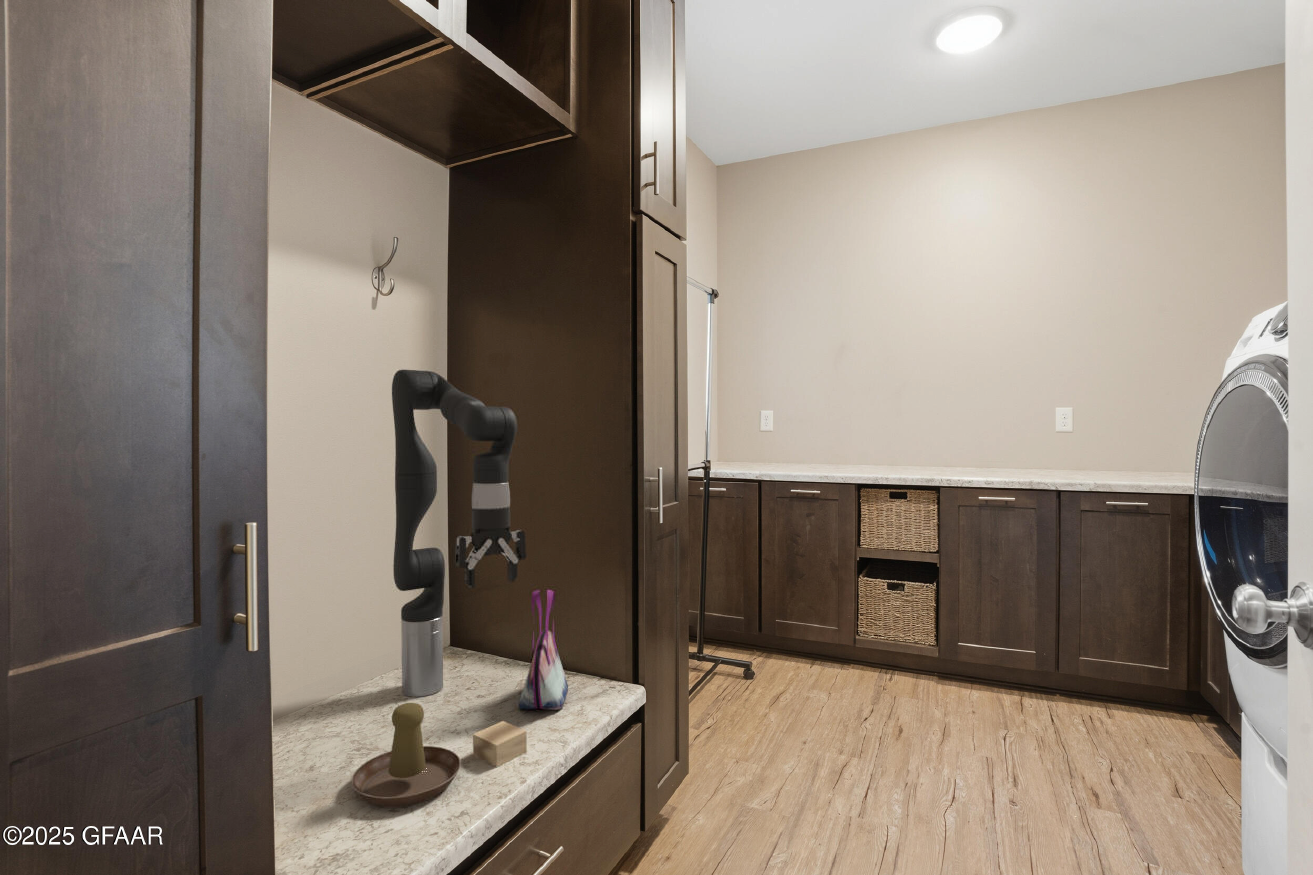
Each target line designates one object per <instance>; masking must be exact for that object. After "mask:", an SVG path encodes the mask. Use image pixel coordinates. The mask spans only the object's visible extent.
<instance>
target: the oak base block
mask: <svg viewBox="0 0 1313 875" xmlns="http://www.w3.org/2000/svg"><path fill="white" fill-rule="evenodd" d="M527 743H528V742H527V730H525V729H522V728H520V727H518V726H515V725H513V724H511V723H508V722H506V721H504V720H502V721H500V722H497V723H495V724H493V725H491V726H489V727H486V728H484V729H482V730H479V731H477V732H475V733H472V753H473V756H474V757H476V758H478V759H480V760H482V761H484V762H485V763H488V764H490V765H492V766H493V767H496V768H497V767H500V766H502V765H503V764H505V763H508V762H510V761H512V760H514V759H515V758H517V757H519V756H522V755H523V754H526V753H527V751H528V750H527V747H528V746H527Z"/></svg>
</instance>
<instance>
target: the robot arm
mask: <svg viewBox="0 0 1313 875" xmlns="http://www.w3.org/2000/svg"><path fill="white" fill-rule="evenodd" d="M391 402H392V412H393V423H394V425H393V426H394V437H395V439H394V440H395V456H394V457H395V461H394V463H395V464H394V465H395V466H394V473H395V474H394V482H395V483H394V489H395V490H394V491H395V492H394V493H395V535H394V536H395V538H394V548H393V549H394V550H393V564H392V566H393V567H392V568H393V580H394V583H395V586H396V588H397V589H398V590H399V591H402V592H407V591H415V590H420V589H421V590H422V589H423V590H422V592H421V593H419V595H418V596H416V597H415V598H414V599H412V600H410V601H408V602H406V603H405V604H404V605H403V606H402V607H401V608H400V609H401V610H400V619H401V621H400V623H401V624H400V626H401V629H400V630H401V633H400V634H401V693H402V694H403V695H404V696H407V697H426V696H430V695H433V694H435V693H438V692H440V691H441V690H442V689H443V688H444V635H443V634H444V627H443V625H444V624H443V620H444V619H443V608H444V602H445V592H444V591H445V579H446V578H445V577H446V575H445V574H446V564H445V563H446V562H445V556H444V554H443V552H442V550H441V549H440V548H438V547H425V548H417V549H415V548H414V541H415V537H416V533H417V530H418V528H419V525H420V524H421V522H422V520H423V518H424V517H425V515H426V514H427V513H428V511H429V509H430V507H431V506H432V504H433V502H434V501H435V499H436V496H437V493H438V482H437V481H438V473H437V472H438V468H437V464H436V461H435V459H434V456H433V455H432V453H431V452H430V451H429V449H428V447H427V446H426V444H425V442H424V441H423V439H422V437H421V436H420V434H419V432H418V430H417V426H416V422H415V413H414V410H416V411H417V410H418V411H429V410H440V413H441V415H442V416H443V418H445V420H446V421H448V422H449V423H451V424H452V425H454V426H456V427H457V428H459V429H460V430H461V431H462V433H463V434H464V436H465V437H466V438H467V439H469V440H471V441H475V442H492V444H491V447H490V448H489V450H487V451H484V452H482V453H478V454H476V455H475V456H474V457H473V459H472V460H473V461H472V490H471V530H472V531H471V535H470V536H469V535H468V536H462V535H457V536H456V537H455V547H454V548H455V550H454V551H455V552H454V565H455V566H456V567H459V568H460V569H461V568H462V569H464V583H465V585H466V586H467V587H468V588H469V589H474V588H475V587H476V574H475V573H476V569H475V567H476V565H477V563H478V562H479V561H480V560H481V559H482V557H483V556H485V557H490V556H492V555H496V556H497V555H498V556H499V555H501V554H502V555H503V556H504V557H505V558H506V560H507V561H508V562H507V564H506V565H507V568H506V570H507V571H506V572H507V581H508V582H510V583H515V581H516V579H517V578H518V562H520V561H522V560H525V559H527V549H526V548H527V547H526V534H525V531H523V530H520V529H515V530H514V531H511V529H510V528H511V527H510V526H511V491H510V486H509V483H510V482H509V462H510V458H511V455H512V450H513V446H514V443H515V440H516V439H515V438H516V435H517V430H518V423H517V417H516V415H515V413H514V411H513V410H512V409H511V408H509V407H507V406H486V405H485V404H484V402H482V400H480V399H478V398H476V397H473V396H471V395H470V394H467V393H464V392H463V391H460V390H459V389H457V388H456V387H455V386H454V385H453V384H451V383H450V382H449V381H447V380H446V379H445V378H444V377H443V376H442V375H440V374H439V373H437V372H434V371H432V370H420V369H419V370H415V369H399V370H397V371H396V372H395V374H394V375H393V378H392V382H391ZM511 540H513V541H514V544H515V545H514V546H515V553H514V551H513V550H512V549H511V547H510V546H509V542H510V541H511ZM470 543H471V544H472V546H473V548H472V549H471V550H470V552H469V553H468V557H467V558H466V550H467V548H468V547H469V544H470Z"/></svg>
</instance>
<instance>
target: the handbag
mask: <svg viewBox="0 0 1313 875" xmlns="http://www.w3.org/2000/svg"><path fill="white" fill-rule="evenodd" d="M540 592H541V590H540V589H537V590H534V591H533V592H532V594H531V610H532V618H533V622H535V603H536V606H537V609H538V615H539V617H538V618H539V636H538V638H537V641H536V645H535V633H534V631H533V634H532V656H531V661H530V664H529V665H530V667H529V670H528V673H527V675H526V676H527V677H526V679H525V683H524V685H523V688H522V691H521V695H520V698H519V701H518V709H519V710H538V709H540V710H549V711H550V710H551V711H553V710H554V711H555V710H556V711H557V710H561V709H563V708H564V705H565V702H566V698H567V695H568V691H569V690H568V689H569V685H568V680H567V677H566V674H565V670H564V669H563V668H564V667H563V665H562V662H561V658H560V655H559V652H558V648H557V644H556V640H555V626H554V624H555V622H554V621H552V622H553V623H552V631H551V630H550V629H549V618H550V614H551V611H552V609H554V607H555V601H556V592H555V591H553V590H551V589H547V591H546V597H547V599H546V600H547V601H546V614H545V629H544V630H542V620H543V619H542V618H543V617H542V615H543V612H542V611H543V610H542V601H541V593H540Z"/></svg>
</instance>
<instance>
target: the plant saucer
mask: <svg viewBox="0 0 1313 875" xmlns="http://www.w3.org/2000/svg"><path fill="white" fill-rule="evenodd" d="M423 748H424V756H425V764H426V766H425V769H424V770H423V772H421V773H419V774H417V775H415V776H412V777H408V778H395V777H393V776H391V775H390V774H389V771H388V770H389V764H390V757H391V751H392V750H391V751H387V752H384V753H381V754H379V755H377V756H374V757H373V758H371V759H369V760H367V761H366V762H364V763H363V764H361V765H360V766H359V767H358V768H357V769H356V770H355V772H354V773H353V774H352V776H351V780H350V782H351V783H350V784H351V786H352V788H353V790H354V791H355V793H356V794H358V796H359V797H360V798H362V800H363V801H366V802H367V803H368V804H370V805H373V806H375V807H378V808H379V807H381V808H388V809H389V808H391V809H392V808H402V807H403V808H404V807H410V806H414V805H418V804H421V803H424V802H426V801H428V800H431V799H433V798H434V797H436V796H438V795H439V794H441V793H443V792H444V791H445V790H446V789H447V788H448V786H449V785H450V784H451V783H452V781H453V780H454V779H455V777H456V776H457V775H458V773H459V772H460V769H461V765H462V762H461V761H462V760H461V759H460V756H459V755H458V754H457V753H456V752H454V751H452V750H450V749H447V748H445V747H440V746H429V745H423ZM426 768H427V769H426ZM424 771H425V772H424ZM426 771H427V772H426Z"/></svg>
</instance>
